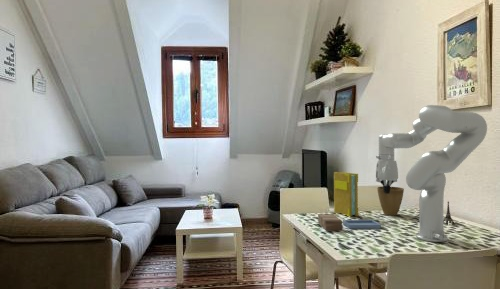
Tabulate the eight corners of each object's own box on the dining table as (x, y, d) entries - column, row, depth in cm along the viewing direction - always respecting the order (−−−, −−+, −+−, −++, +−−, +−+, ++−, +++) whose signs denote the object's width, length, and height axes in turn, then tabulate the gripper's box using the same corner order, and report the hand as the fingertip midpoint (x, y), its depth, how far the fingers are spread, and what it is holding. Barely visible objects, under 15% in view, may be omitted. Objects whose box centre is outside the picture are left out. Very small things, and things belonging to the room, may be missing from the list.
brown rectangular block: (342, 230, 165) (342, 220, 165) (325, 230, 164) (325, 221, 164) (333, 222, 181) (333, 214, 181) (318, 223, 181) (318, 214, 181)
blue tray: (381, 228, 168) (381, 224, 168) (349, 229, 167) (349, 225, 167) (372, 223, 179) (372, 219, 179) (342, 223, 178) (342, 220, 178)
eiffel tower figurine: (468, 225, 175) (468, 200, 175) (461, 228, 168) (461, 202, 168) (437, 220, 186) (437, 196, 186) (430, 223, 180) (430, 198, 180)
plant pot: (372, 213, 206) (371, 187, 206) (391, 211, 211) (390, 185, 211) (390, 217, 192) (389, 190, 192) (409, 215, 197) (409, 188, 197)
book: (358, 216, 197) (358, 173, 197) (349, 217, 195) (348, 174, 195) (340, 211, 213) (340, 171, 213) (331, 211, 211) (331, 172, 211)
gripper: (375, 158, 170) (375, 194, 170) (404, 158, 170) (404, 194, 170) (369, 157, 177) (369, 192, 177) (397, 157, 177) (397, 192, 177)
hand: (386, 193), depth 174 cm, fingers closed
